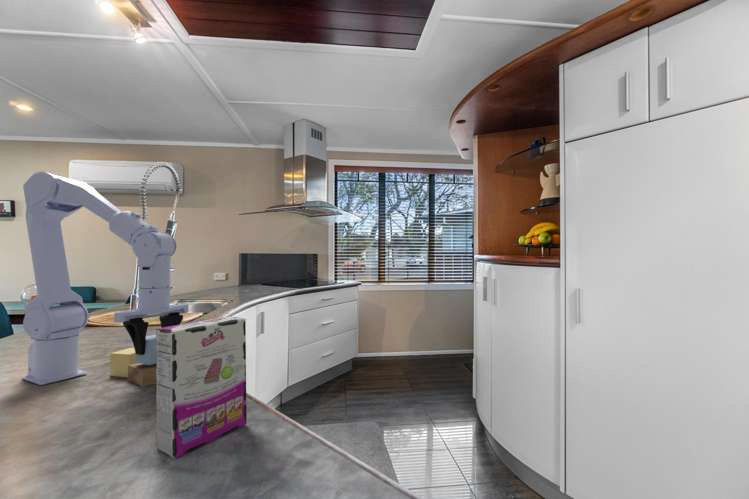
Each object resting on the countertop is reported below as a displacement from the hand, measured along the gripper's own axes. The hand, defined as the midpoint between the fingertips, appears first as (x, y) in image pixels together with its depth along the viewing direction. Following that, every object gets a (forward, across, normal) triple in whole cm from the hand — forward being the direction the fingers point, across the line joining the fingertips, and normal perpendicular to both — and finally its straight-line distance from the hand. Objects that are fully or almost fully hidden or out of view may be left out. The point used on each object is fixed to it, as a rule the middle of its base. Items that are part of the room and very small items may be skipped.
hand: (153, 350), depth 74 cm
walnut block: (+6, 0, 0) cm, 6 cm away
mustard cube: (+6, 0, +9) cm, 11 cm away
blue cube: (+2, 0, 0) cm, 2 cm away
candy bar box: (+6, -11, -32) cm, 34 cm away
